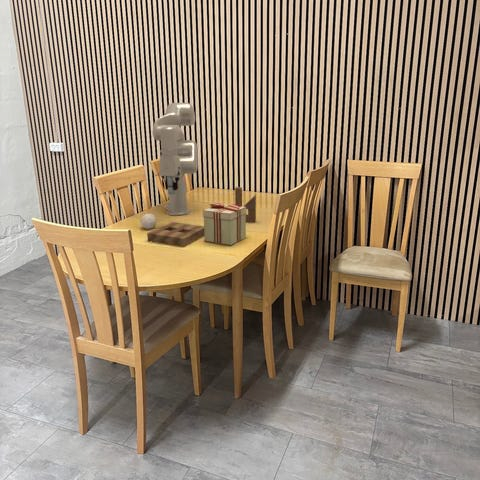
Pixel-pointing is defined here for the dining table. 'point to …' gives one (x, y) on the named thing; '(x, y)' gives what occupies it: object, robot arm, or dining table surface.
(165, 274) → the dining table surface
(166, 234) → the board
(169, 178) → the peg
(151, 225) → the geometric ball
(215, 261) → the dining table surface
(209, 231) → the gift box
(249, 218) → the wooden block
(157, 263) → the dining table surface
